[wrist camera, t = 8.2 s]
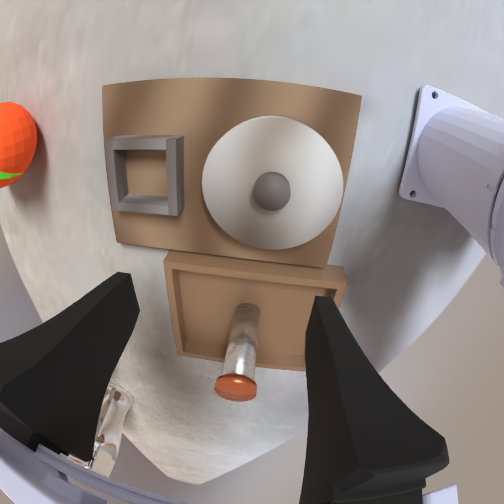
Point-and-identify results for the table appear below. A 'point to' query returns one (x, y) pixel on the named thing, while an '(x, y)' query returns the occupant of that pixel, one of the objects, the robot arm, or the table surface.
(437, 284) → the table surface
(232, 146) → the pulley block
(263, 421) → the table surface
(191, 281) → the tray
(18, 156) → the clementine
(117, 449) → the beer glass
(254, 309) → the lock pin
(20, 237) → the table surface
